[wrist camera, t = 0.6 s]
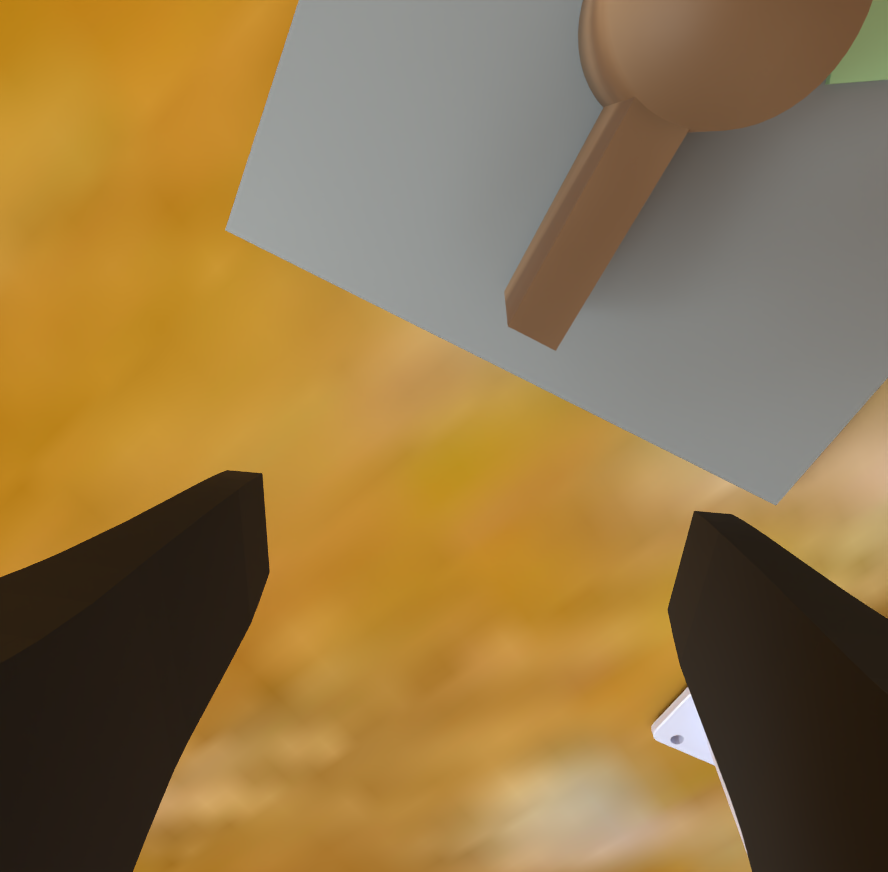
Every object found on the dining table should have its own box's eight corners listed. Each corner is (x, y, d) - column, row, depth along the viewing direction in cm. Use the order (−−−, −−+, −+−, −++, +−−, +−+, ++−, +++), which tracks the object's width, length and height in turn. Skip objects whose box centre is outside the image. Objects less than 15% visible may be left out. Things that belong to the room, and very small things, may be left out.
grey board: (1231, -69, 14) (1294, -88, 13) (760, 485, 20) (775, 505, 19) (514, -603, 11) (517, -681, 10) (241, 224, 18) (225, 230, 17)
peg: (913, -175, 12) (1127, -335, 8) (593, 336, 17) (626, 398, 13) (729, -305, 12) (859, -549, 8) (451, 263, 17) (439, 303, 12)
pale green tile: (825, 84, 14) (829, 84, 14) (851, -66, 13) (855, -69, 13) (917, 77, 14) (922, 76, 14) (950, -76, 13) (957, -79, 13)
